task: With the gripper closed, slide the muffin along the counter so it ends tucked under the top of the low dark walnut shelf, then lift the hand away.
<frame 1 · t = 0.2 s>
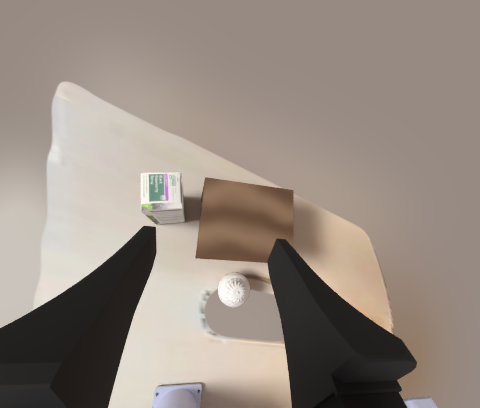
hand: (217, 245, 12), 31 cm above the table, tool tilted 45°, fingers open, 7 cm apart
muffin: (230, 286, 41), on the table
walnut shelf: (235, 228, 44), on the table
syrup box: (170, 210, 42), on the table
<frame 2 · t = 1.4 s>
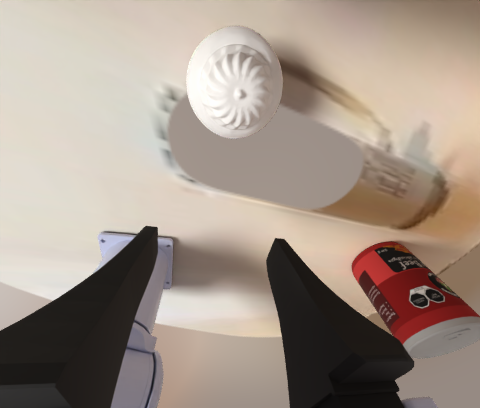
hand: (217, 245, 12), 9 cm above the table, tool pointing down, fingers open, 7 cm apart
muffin: (232, 86, 16), on the table
canned food: (375, 258, 30), on the table
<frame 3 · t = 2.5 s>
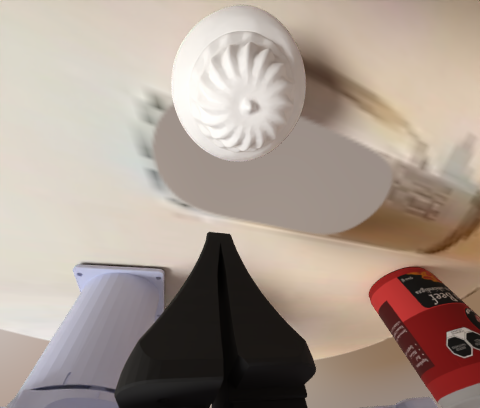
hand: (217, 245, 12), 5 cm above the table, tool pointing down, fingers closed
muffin: (234, 91, 12), on the table
canned food: (395, 283, 26), on the table
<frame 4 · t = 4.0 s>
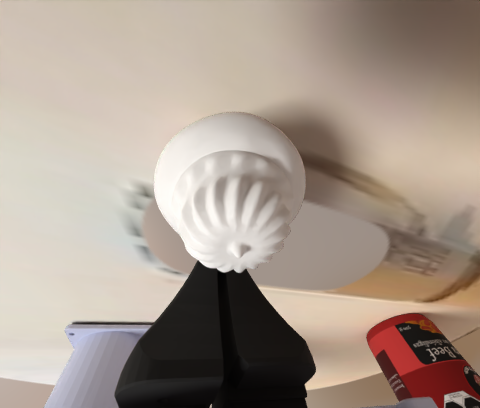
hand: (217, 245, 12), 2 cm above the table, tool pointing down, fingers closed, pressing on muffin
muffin: (228, 160, 11), on the table, touching gripper
canned food: (393, 326, 26), on the table
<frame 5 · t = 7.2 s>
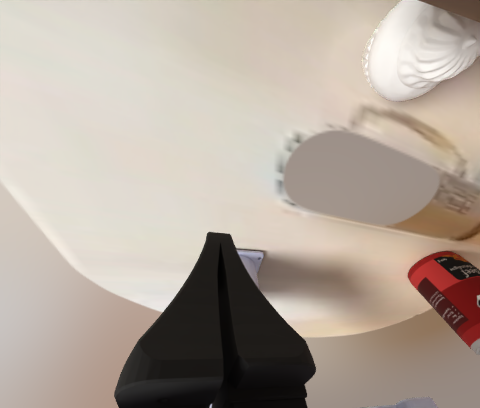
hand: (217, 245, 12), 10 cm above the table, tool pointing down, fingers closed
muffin: (379, 52, 16), on the table
canned food: (429, 265, 33), on the table
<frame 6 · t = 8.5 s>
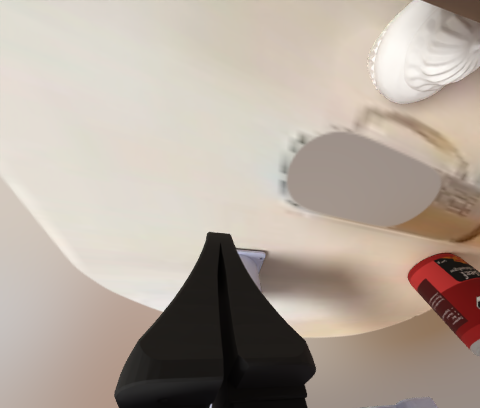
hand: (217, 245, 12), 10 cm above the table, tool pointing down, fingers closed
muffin: (385, 55, 16), on the table
canned food: (429, 267, 33), on the table
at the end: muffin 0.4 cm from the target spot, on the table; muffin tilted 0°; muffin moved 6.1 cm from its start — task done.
